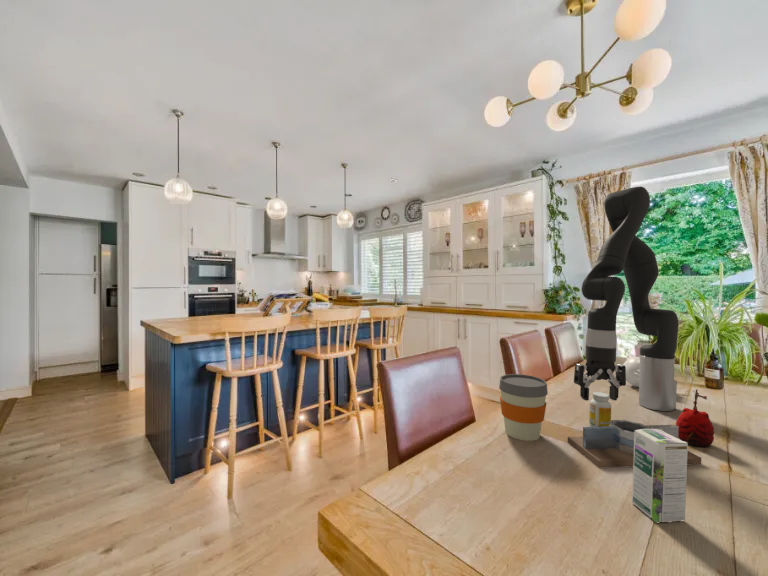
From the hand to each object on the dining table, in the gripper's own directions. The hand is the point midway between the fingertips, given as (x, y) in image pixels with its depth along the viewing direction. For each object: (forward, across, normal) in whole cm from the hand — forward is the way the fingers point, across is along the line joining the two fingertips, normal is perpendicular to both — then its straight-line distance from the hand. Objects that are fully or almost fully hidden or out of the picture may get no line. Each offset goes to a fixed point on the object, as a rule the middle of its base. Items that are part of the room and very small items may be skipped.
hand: (599, 399), depth 100 cm
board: (+8, +2, +15) cm, 17 cm away
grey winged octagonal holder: (+6, +2, +15) cm, 17 cm away
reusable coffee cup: (+9, +24, +3) cm, 26 cm away
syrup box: (+9, +14, +36) cm, 40 cm away
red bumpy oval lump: (+8, -19, +11) cm, 23 cm away
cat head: (+7, -42, -34) cm, 55 cm away
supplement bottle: (+8, 0, 0) cm, 8 cm away
